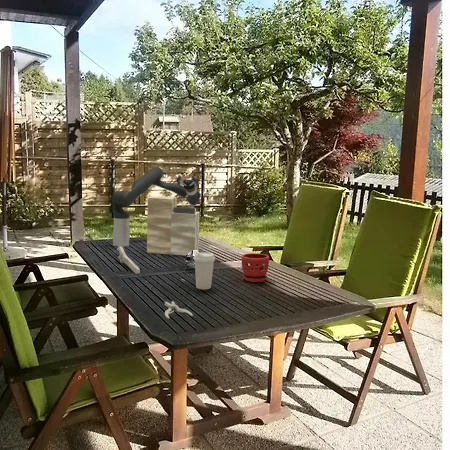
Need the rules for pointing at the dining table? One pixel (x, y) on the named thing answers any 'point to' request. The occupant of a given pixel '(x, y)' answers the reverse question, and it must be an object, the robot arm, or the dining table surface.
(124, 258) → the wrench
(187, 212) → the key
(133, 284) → the dining table surface
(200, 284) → the coffee cup
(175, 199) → the step stand
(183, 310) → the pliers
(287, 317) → the dining table surface
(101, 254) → the dining table surface
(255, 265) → the plant pot
